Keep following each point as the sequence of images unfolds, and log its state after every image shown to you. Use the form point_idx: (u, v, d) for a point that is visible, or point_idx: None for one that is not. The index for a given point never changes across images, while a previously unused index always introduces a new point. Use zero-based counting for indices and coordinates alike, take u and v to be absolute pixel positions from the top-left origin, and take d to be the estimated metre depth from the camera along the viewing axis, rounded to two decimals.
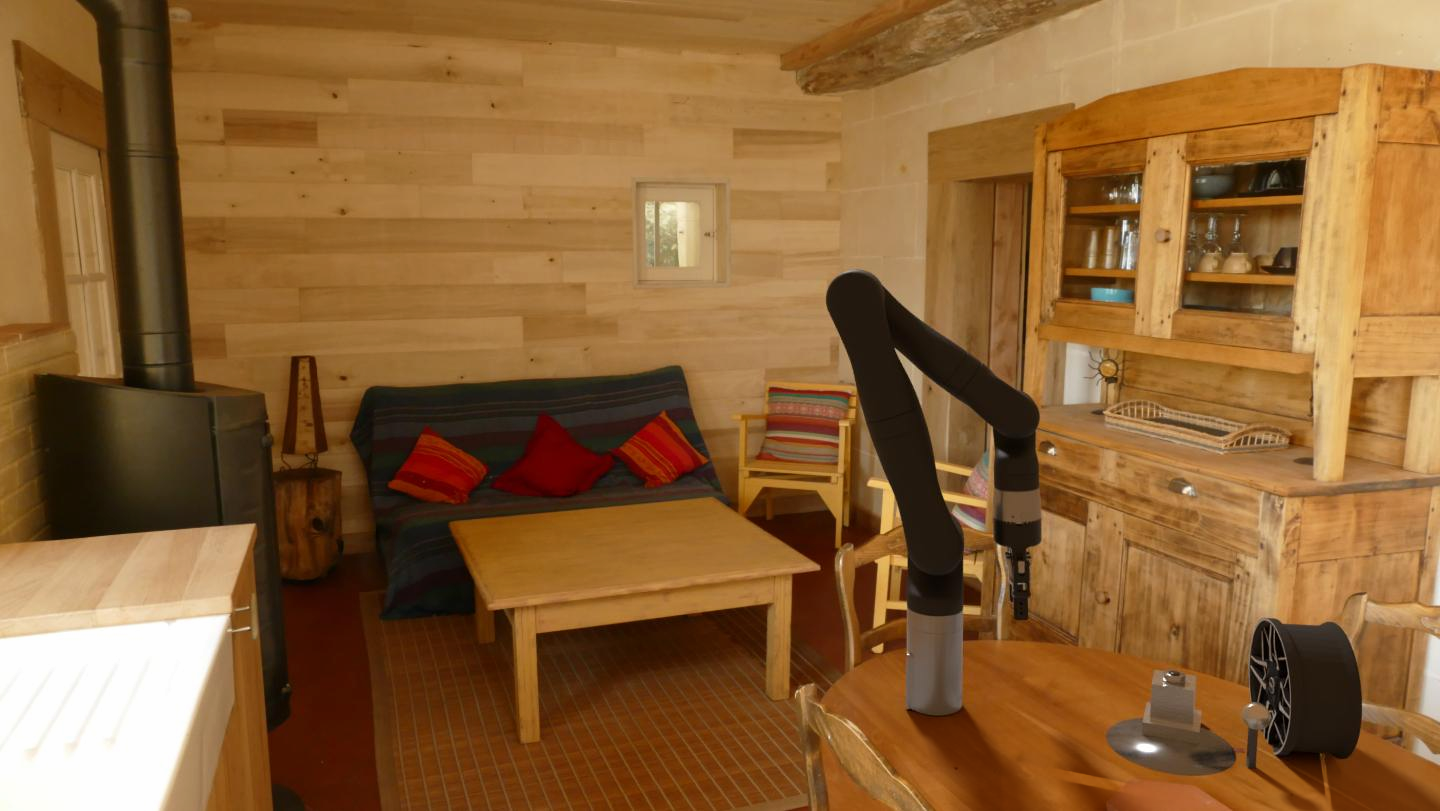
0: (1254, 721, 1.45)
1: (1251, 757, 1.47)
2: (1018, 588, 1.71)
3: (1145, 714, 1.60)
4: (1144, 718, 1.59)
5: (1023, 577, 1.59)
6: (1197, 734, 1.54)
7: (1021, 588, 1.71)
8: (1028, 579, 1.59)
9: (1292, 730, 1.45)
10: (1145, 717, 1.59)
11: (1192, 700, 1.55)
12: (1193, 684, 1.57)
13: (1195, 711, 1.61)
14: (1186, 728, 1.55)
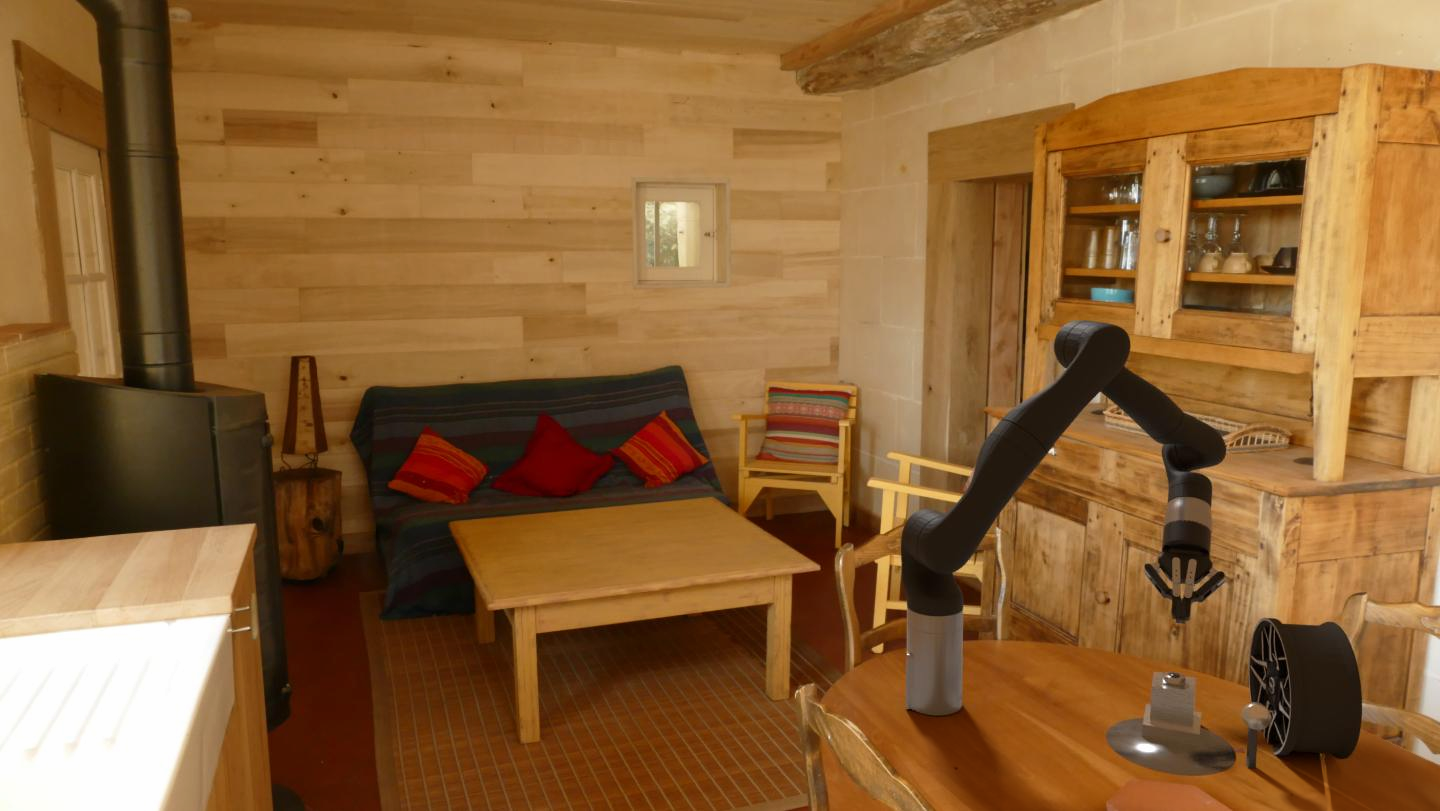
0: (1254, 721, 1.45)
1: (1251, 757, 1.47)
2: None
3: (1145, 716, 1.59)
4: (1144, 720, 1.58)
5: (1215, 588, 1.68)
6: (1197, 736, 1.53)
7: None
8: (1213, 591, 1.69)
9: (1292, 730, 1.45)
10: (1145, 719, 1.58)
11: (1192, 702, 1.54)
12: (1193, 686, 1.56)
13: (1194, 713, 1.60)
14: (1186, 730, 1.55)
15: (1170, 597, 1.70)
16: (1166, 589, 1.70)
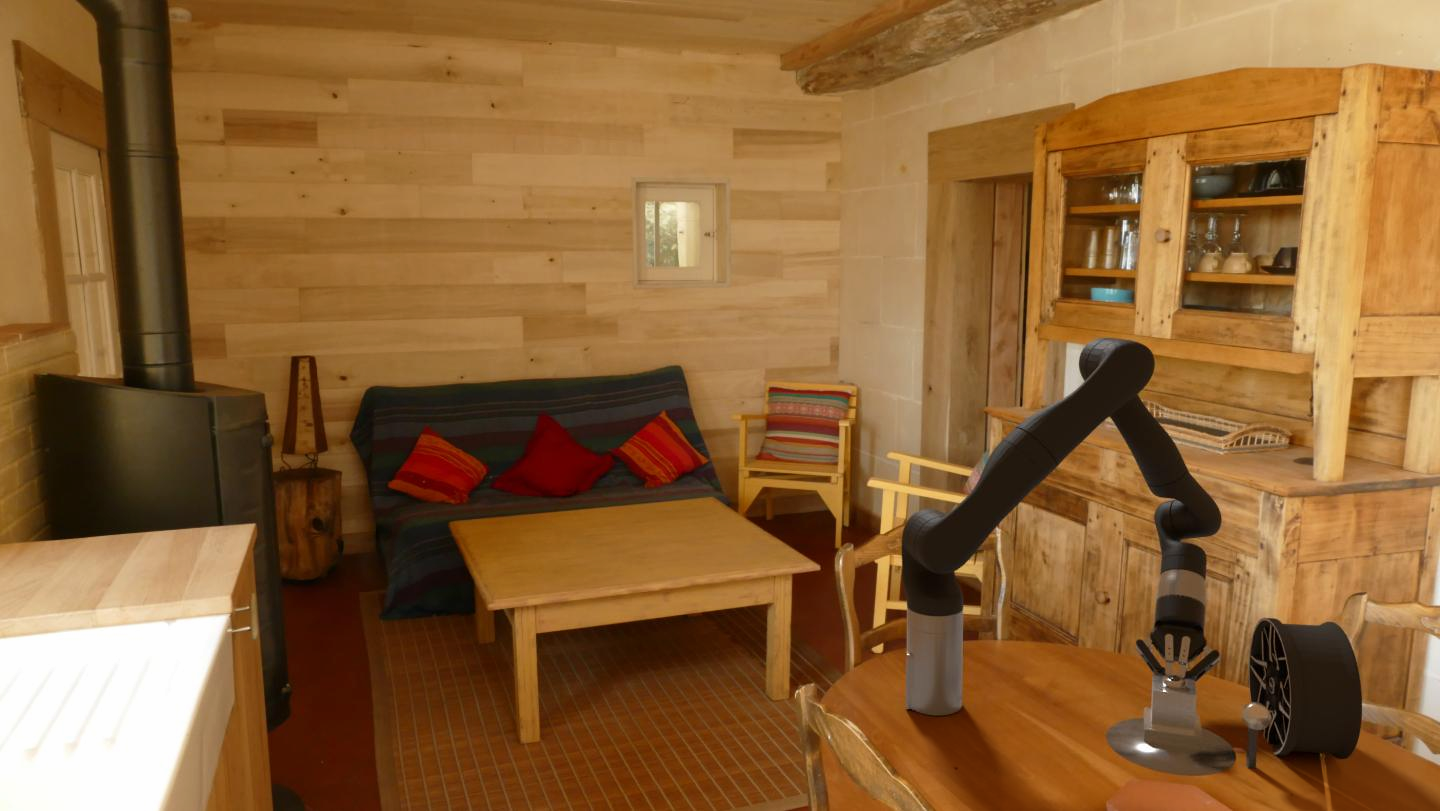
0: (1254, 721, 1.45)
1: (1251, 757, 1.47)
2: None
3: (1145, 721, 1.58)
4: (1145, 725, 1.56)
5: (1209, 667, 1.62)
6: (1200, 739, 1.52)
7: None
8: (1207, 671, 1.63)
9: (1292, 730, 1.45)
10: (1146, 723, 1.57)
11: (1194, 705, 1.53)
12: (1194, 689, 1.55)
13: None
14: (1189, 734, 1.53)
15: None
16: (1158, 668, 1.63)
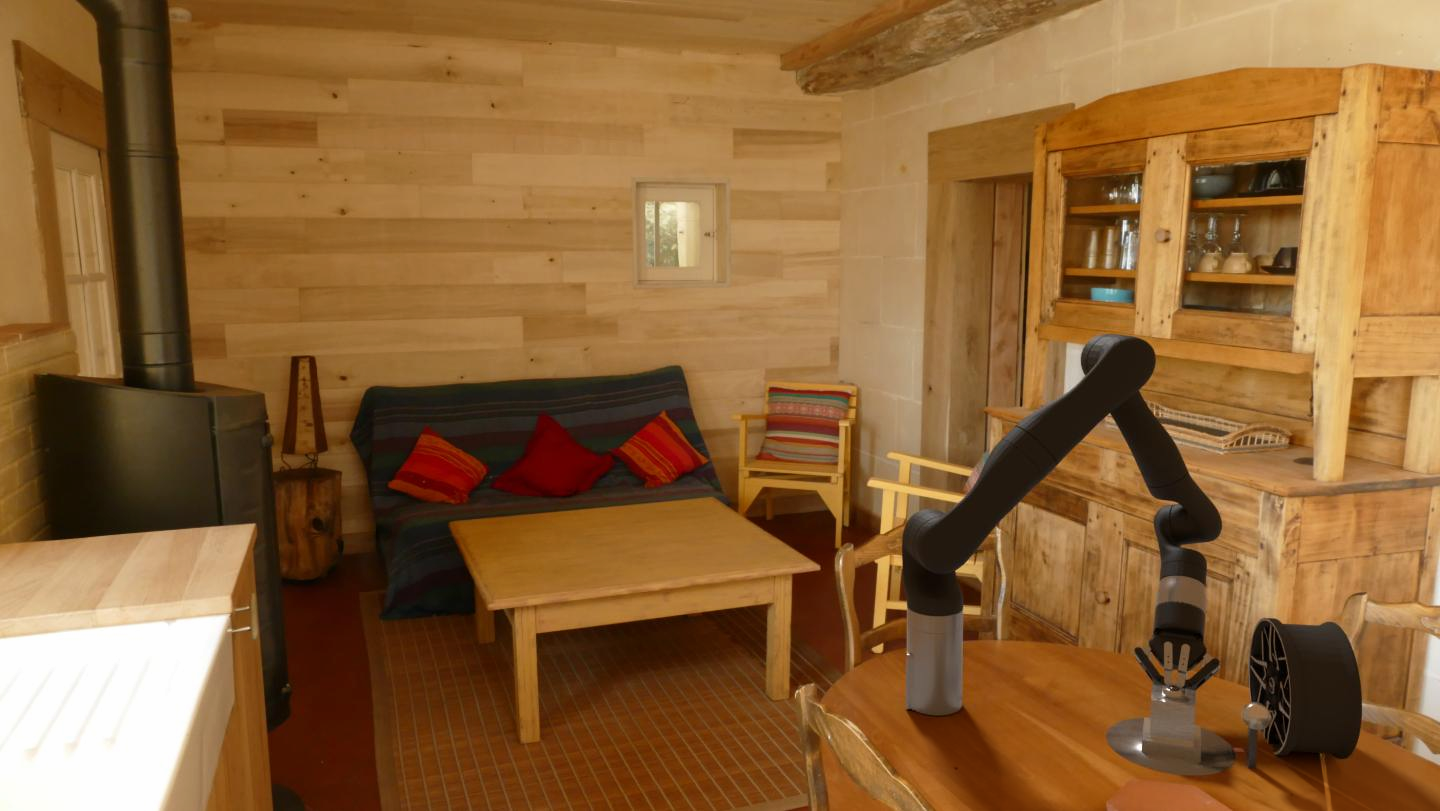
0: (1254, 721, 1.45)
1: (1251, 757, 1.47)
2: None
3: (1144, 731, 1.55)
4: (1143, 735, 1.53)
5: (1209, 676, 1.59)
6: (1199, 751, 1.49)
7: None
8: (1207, 679, 1.59)
9: (1292, 730, 1.45)
10: (1144, 734, 1.54)
11: (1193, 716, 1.50)
12: (1193, 699, 1.51)
13: (1194, 726, 1.56)
14: (1187, 745, 1.50)
15: None
16: (1157, 676, 1.60)
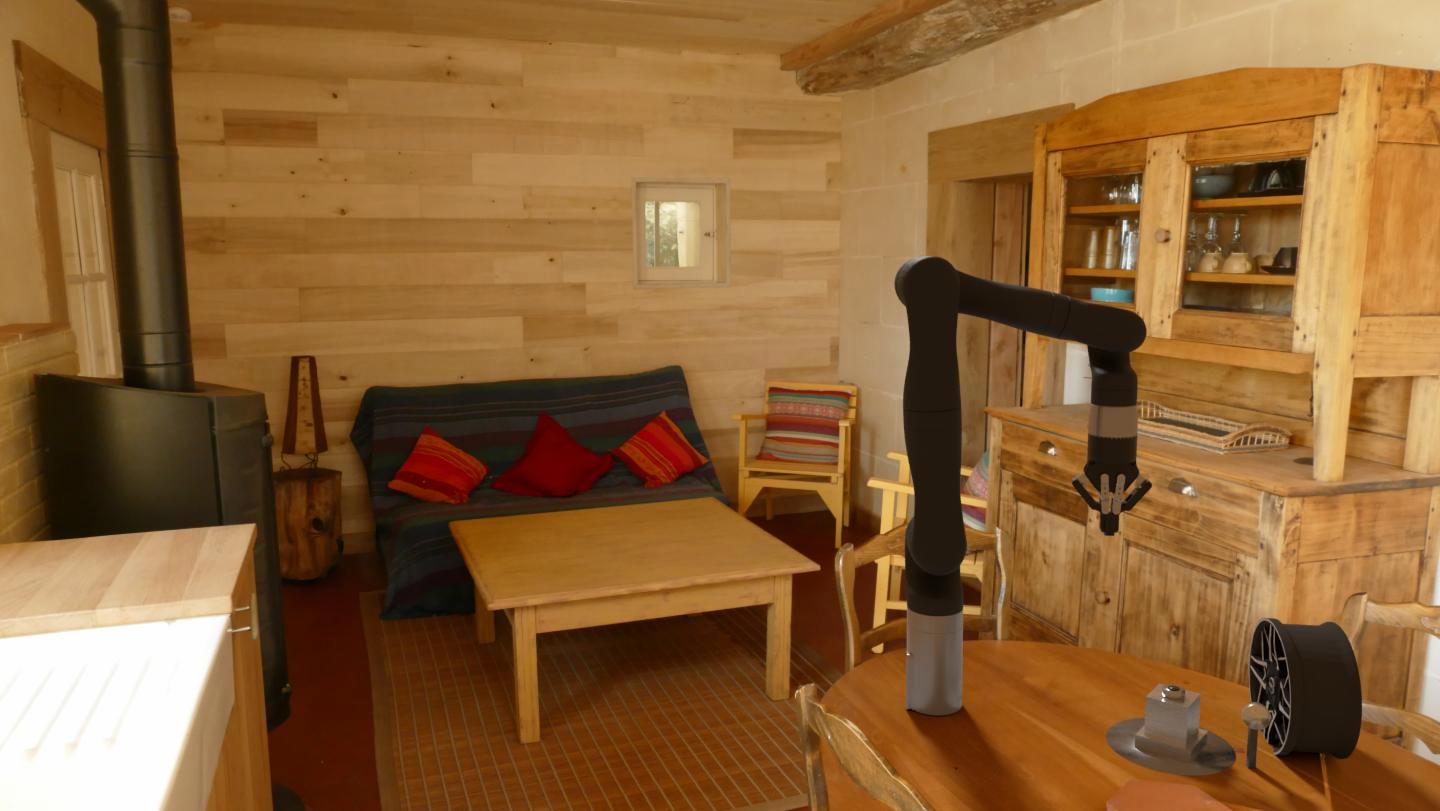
0: (1254, 721, 1.45)
1: (1251, 757, 1.47)
2: None
3: (1143, 727, 1.56)
4: (1139, 731, 1.55)
5: None
6: (1189, 753, 1.49)
7: None
8: None
9: (1292, 730, 1.45)
10: (1141, 730, 1.55)
11: (1186, 717, 1.49)
12: (1191, 701, 1.51)
13: (1200, 730, 1.54)
14: (1179, 745, 1.50)
15: (1098, 510, 1.68)
16: (1095, 507, 1.67)
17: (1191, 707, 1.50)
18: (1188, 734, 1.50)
